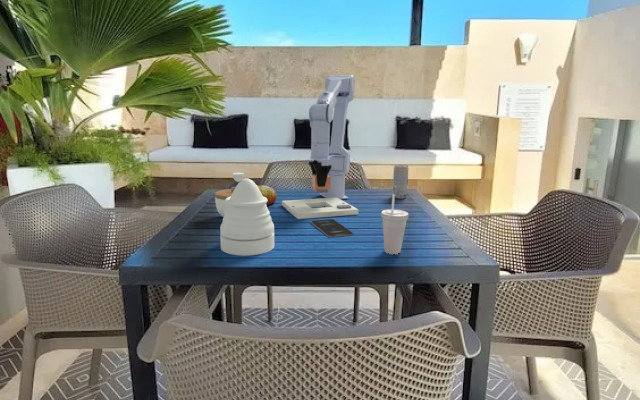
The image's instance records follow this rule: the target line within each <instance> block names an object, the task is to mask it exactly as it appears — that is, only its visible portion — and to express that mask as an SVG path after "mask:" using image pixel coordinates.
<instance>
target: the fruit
mask: <svg viewBox="0 0 640 400" xmlns="http://www.w3.org/2000/svg"><path fill="white" fill-rule="evenodd" d="M256 185H257V184H256ZM257 187H258V188H259V190H260V192H261V194H262V196H264V197H266V198H267V200H268V201H267V203H266V205H267V206H270V205H274V204H275V203H276V201H277V199H278V196H277V192H276V191H275V189H274V188H272V187H270V186H269V185H257Z"/></svg>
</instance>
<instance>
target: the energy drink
mask: <svg viewBox="0 0 640 400" xmlns="http://www.w3.org/2000/svg"><path fill="white" fill-rule="evenodd" d="M392 177H393V178H392V179H393V180H392V181H393V182H392V194H395V199H400V200H401V199H406V198H408V197H407V196H408V195H407V194H408V181H409V165H408V164H395V165H394V167H393V176H392ZM392 194H391V195H392Z"/></svg>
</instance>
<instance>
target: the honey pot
mask: <svg viewBox="0 0 640 400" xmlns="http://www.w3.org/2000/svg"><path fill="white" fill-rule="evenodd" d="M244 176H245V174H244V172H232V178H233V180H234V181H235V182H237V183H238V184H237V185H236V186H234V187H235V189H234V191H233V193H232V195H231V196H230V197H228V198H226V199H225V203H226V204H227V205H228V206H227V209H226V211H225V212H224V218H222V222H221V224H220V227H219V228H220V229H219V231H220V234H219V235H220V238H219V239H220V250H221V251H222V252H224V253H227V254H228V255H229V254H230V255H235V256H255V255H261V254H262V255H263V254H266V253H268V252H271V251H272V250H273V249H274V248H275V224H274V222H273V221H272V216H271V214H270V213H271V211H270V210H269V209H268V207H267V206H268V205H266V203H267V201H268V200H267V198H266V197H264V196H262V194H261V192H260V190H259V188H258V187H257V184H256V183H255V181H254V180H253V179H250V177H249V178H247V177H245V178H244Z"/></svg>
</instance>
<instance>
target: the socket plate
mask: <svg viewBox="0 0 640 400" xmlns="http://www.w3.org/2000/svg"><path fill="white" fill-rule="evenodd" d="M281 206H282V207H283V208H284V209H286V210H287V211H288V212H289V214H291V215H292V216H294V217H295V218H296V219H297V220H304V219H316V218H318V219H319V218H328V217H331V218H332V217H340V216H341V217H342V216H343V217H344V216H355V215H356V216H357V215H359V211H360V210H359V209H358V208H357V207H355V206H353V205H352V204H350V203H347V202H346V201H344V200H343V199H339V198H337V197H336V198H325V197H322V198H307V199H306V198H305V199H304V198H303V199H292V200H290V199H289V200H282V201H281ZM324 206H325V207H324Z"/></svg>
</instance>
